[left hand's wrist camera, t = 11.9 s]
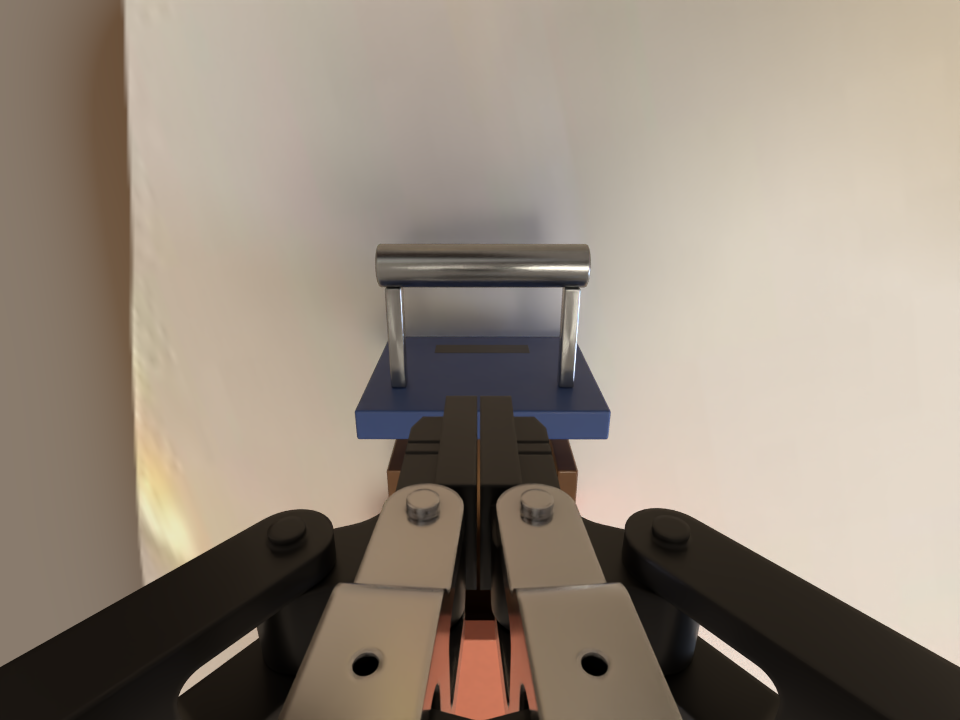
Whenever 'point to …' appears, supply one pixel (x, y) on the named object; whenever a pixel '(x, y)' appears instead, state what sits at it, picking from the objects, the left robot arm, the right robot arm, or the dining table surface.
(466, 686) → the cabinet
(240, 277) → the dining table surface
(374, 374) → the drawer
